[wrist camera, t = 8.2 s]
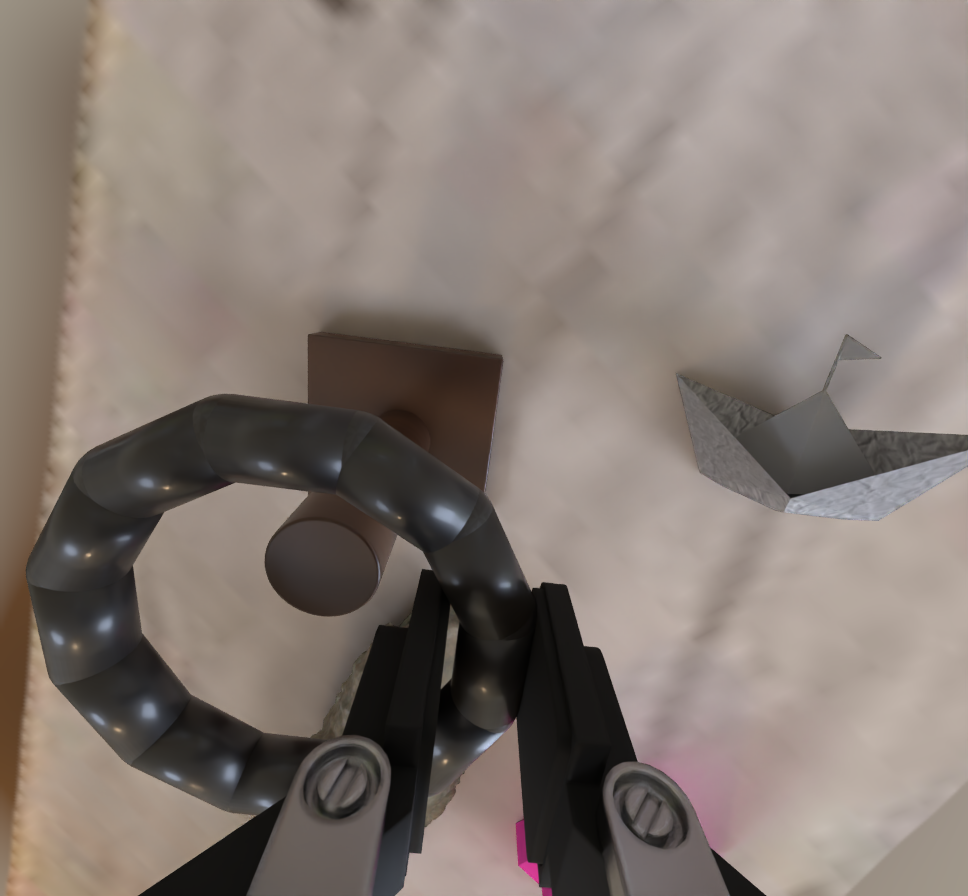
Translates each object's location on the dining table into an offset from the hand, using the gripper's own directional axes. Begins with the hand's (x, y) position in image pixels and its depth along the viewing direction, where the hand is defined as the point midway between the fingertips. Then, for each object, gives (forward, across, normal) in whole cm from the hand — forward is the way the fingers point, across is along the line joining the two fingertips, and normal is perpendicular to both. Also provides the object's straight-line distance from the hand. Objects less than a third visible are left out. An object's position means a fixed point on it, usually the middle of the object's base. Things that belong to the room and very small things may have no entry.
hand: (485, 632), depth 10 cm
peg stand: (+14, +4, 0) cm, 15 cm away
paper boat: (+14, -15, -3) cm, 21 cm away
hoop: (-1, +4, 0) cm, 4 cm away
